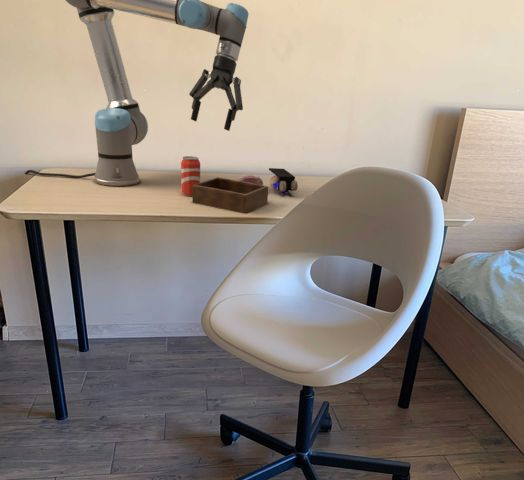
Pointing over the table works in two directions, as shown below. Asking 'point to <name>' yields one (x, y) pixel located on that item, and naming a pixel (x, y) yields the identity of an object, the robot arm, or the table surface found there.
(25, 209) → the table surface
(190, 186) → the beverage can
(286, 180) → the figurine character
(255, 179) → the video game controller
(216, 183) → the brown wooden box
